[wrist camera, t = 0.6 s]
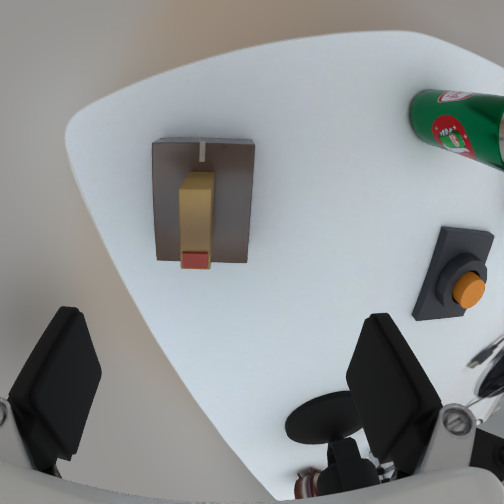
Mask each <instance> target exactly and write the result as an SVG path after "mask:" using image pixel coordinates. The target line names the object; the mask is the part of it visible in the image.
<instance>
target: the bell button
mask: <svg viewBox="0 0 504 504" xmlns="http://www.w3.org/2000/svg"><path fill="white" fill-rule="evenodd" d="M484 290H485V284H484V282H483V280H482V279H480V278H479V277H478V276H477V275H476V274H475V273H474V272H467V273H465V274H464V275H462V276H461V278H460V279H459V280H458V281H457V283H456V284H455V286H454V289H453V297H454V299H455V300H456V301H457V302H458V303H459V304H460V305H461V306H462V307H463V308H470V307H472V306H474V305H475V304H476V303H477V302H478V301H479V300H480V299H481V297H482V295H483V293H484Z"/></svg>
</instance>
